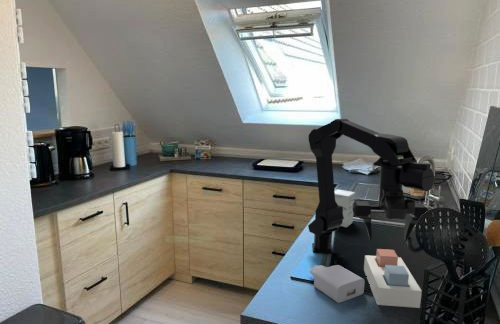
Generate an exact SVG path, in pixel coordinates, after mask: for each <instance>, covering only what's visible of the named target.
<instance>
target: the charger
mask: <svg viewBox="0 0 500 324" xmlns="http://www.w3.org/2000/svg"><path fill="white" fill-rule="evenodd" d="M309 268H310V270H309V273H310V274H311V275H312V276H313V277H314V278H313V279H314V280H313V287H315V289H317V290H319V291H321V292H322V293H323V294H324V295H326V297H327V296H328V297H329V298H330V299H332V300H334V301H335V302H336V303H337V304H339V303H342V302H345V301H347V300H352V299H353V298H356V297H359V296H362V295H363V294H364V291H365V279H364V278H362V277H361V276H359V275H358V274H355V273H354V272H352V271H350V270H349V269H347V268H344V267H343V266H342V265H341V264H340V265H339V264H335V265H331V266H328V267H327V266H325V265H321V264H319V265H316V264H314V267H312V266H309Z"/></svg>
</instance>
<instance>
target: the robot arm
mask: <svg viewBox="0 0 500 324" xmlns="http://www.w3.org/2000/svg"><path fill="white" fill-rule="evenodd" d="M343 136H345V137H347V138H349V139H350V140H353V141H356V142H358V143H360V144H363V145H365V146H366V147H368V148H370V150H372V153H374V154H375V155H377V156H378V157H379V158H378V159H377V160H376V161H374V163H373V166H376V167H380V171H379V172H380V174H379V187H378V189H379V191H378V199H377V201H378V205H376V204H375V205H374V204H372V205H371V204H370V203H369V201H367V200H366V201H365V200H364V201H361V200H355V201H354V203H353V212H354V213H353V215H354V216H355V217H358V218H359V219H361V220H363V222H364V225H365V228H366V229H365V230H366V231H367V236H368V238H369V240H370V241H371V240H372V239H373V230H372V229H373V228H372V216H371V214H372V213H377V214H378V213H381V214H385V217H386V219H388V220H393V219H395V220H396V219H397V220H405V221H404V229H403V230H404V231H403V240H404V242H407V241H408V239H407V237H408V236H409V237H410V235H411V233H412V231H413V229H414V227H415V226H416V225H417V224H418V223H417V221H418V219H419V218H420V216H421V215H422V214H424V213H425V212H426V211H428V210H429V208H428V207H427V206H426V205H425V204H423V203H422V202H415V199H411V198H410V199H408V198H406V199H405V197H404V190H403V187H404V188H407V189H408V188H409V189H412V190H417V191H418V190H419V191H422V192H423V191H424V192H429V191H431V190H432V188H433V186H434V184H435V179H436V176H435V173H434V170H433V169H432V168H431V167H432V165H431V163H429V162H424V163H423V162H418V161H417V160H418V159H416V157H415V155H414V153H413V152H412V151H411V149H410V146H409V142H408V140H407V139H406V138H405V137H403V136H399V135H394V134H388V133H386V134H385V133H379V132H378V131H375V130H373V129H370V128H368V127H365V126H364V125H363V126H362V125H360V124H358V123H355V122H353V121H351V120H349V119H347V118H335V119H334V120H332V121H331V122H329V123H327V124H325V125H323V126H322V125H321V126H320V127H318V128H313V129H312V130H311V131H310V133H309V134H308V143H309V144H308V145H309V149H310V150H311V152H312V154H313V155H314V157H315V160H316V161H315V165H316V175H317V187H318V188H317V189H318V201H319V202H318V204H317V207H316V210H315V213H314V214H315V215H314V218H315V219H314V220H313V221H311V222H310V223H309V224H308V225H307V228H308V232H309V233H312V234H313V235H314V237H313V243H312V244H311V246H312V247H311V248H312V252H313V253H321V254H334V248H333V245H332V243H333V232H337V231H339V228H340V227H341V226H340V225H341V224H342V222H343V219H344V217H343V207H342V206H340V207H339V206H338V204H337V203H336V201H335V191H336V190H335V181H334V170H333V169H334V168H333V154H334V152H335V150H336V147H337V140H338V139H340V138H342V137H343ZM429 211H430V210H429ZM409 237H408V238H409Z"/></svg>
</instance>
